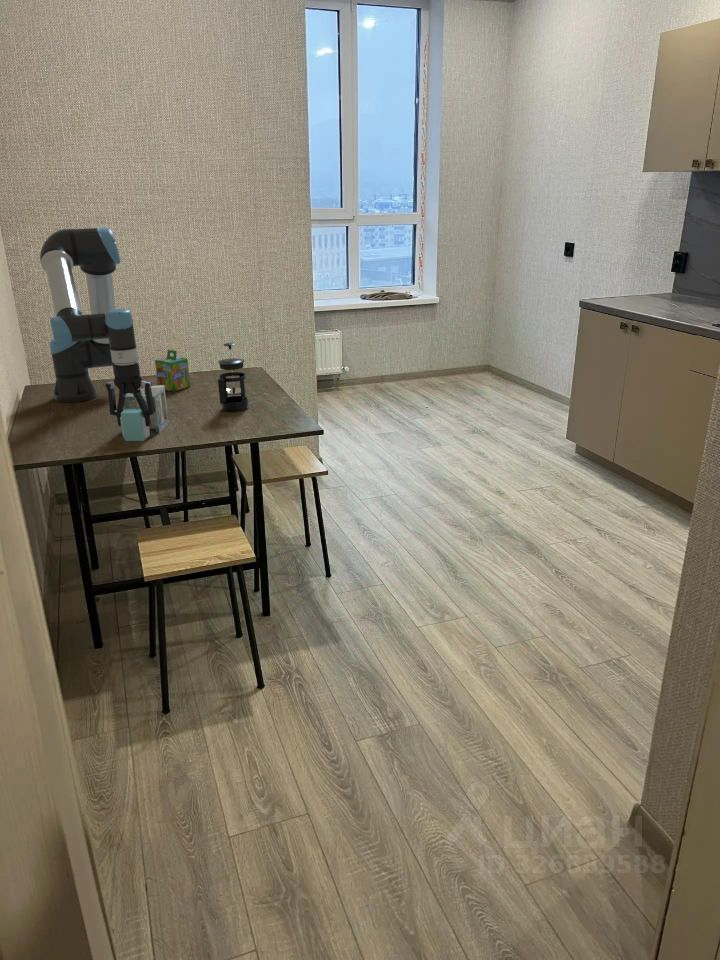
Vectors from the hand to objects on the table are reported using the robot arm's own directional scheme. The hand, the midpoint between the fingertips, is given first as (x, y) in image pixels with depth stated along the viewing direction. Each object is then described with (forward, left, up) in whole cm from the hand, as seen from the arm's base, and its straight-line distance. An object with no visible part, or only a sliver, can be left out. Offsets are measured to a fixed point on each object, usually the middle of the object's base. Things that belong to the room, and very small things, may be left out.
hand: (136, 435), depth 218 cm
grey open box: (0, +11, -1) cm, 11 cm away
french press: (+24, +33, -1) cm, 40 cm away
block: (0, +1, -1) cm, 1 cm away
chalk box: (-6, +62, -1) cm, 62 cm away
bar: (0, +21, -1) cm, 21 cm away
